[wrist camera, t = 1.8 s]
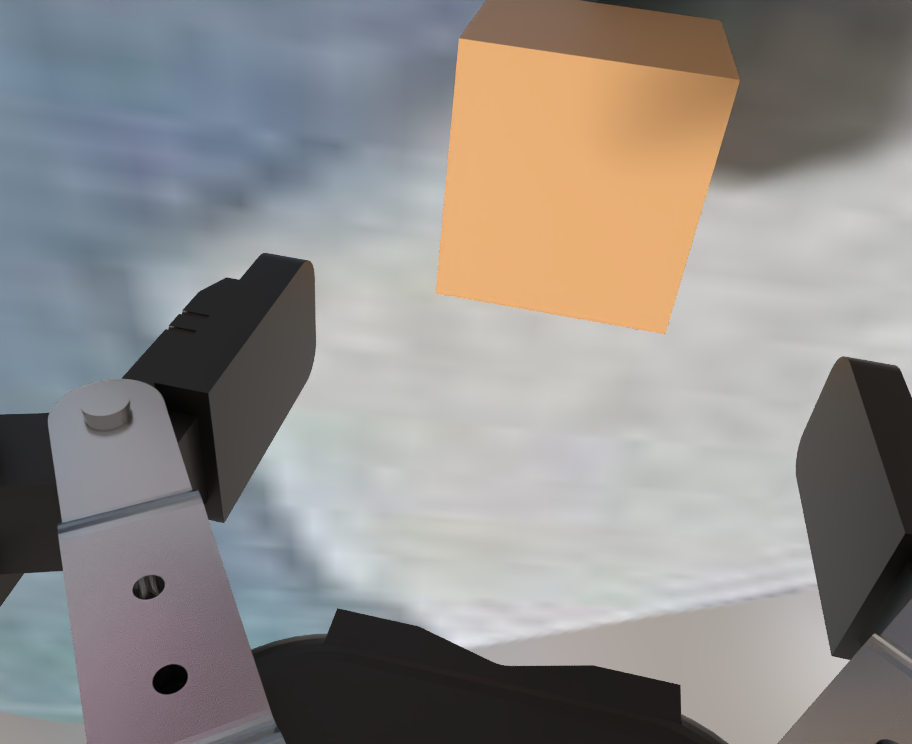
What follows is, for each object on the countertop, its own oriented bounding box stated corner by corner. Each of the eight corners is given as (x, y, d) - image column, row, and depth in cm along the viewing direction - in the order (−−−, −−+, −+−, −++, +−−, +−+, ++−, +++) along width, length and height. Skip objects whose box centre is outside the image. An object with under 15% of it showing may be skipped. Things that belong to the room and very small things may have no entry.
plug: (508, -31, 23) (458, 38, 17) (714, -2, 22) (740, 80, 16) (483, 176, 26) (435, 293, 20) (660, 204, 26) (665, 334, 20)
